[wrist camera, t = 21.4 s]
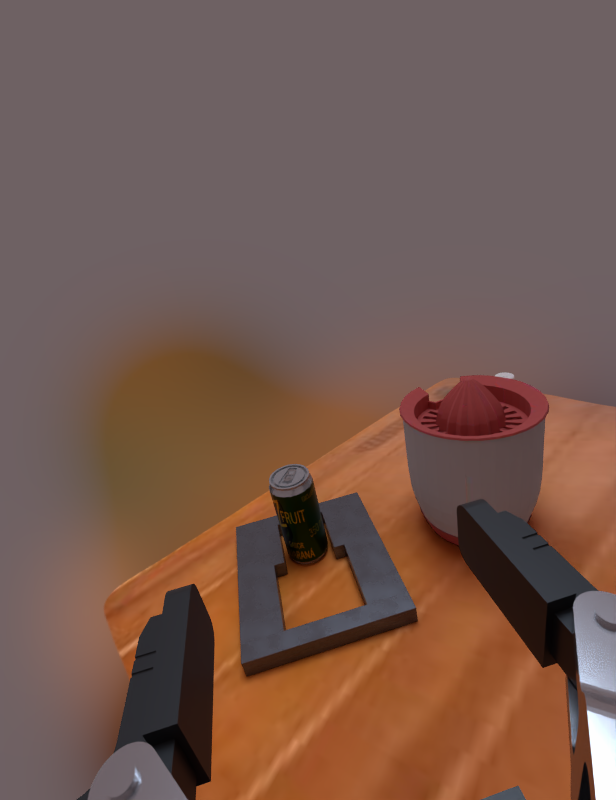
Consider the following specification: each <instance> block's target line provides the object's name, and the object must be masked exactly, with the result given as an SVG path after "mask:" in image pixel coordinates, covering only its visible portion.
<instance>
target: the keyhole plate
mask: <svg viewBox="0 0 616 800" xmlns="http://www.w3.org/2000/svg"><path fill="white" fill-rule="evenodd" d="M318 504H319V508H320V512H321V516H322V520H323V523H325V526H326V529H327V532H328V535H329V538H330V541H331V544H332V547H333V549H334V552H335V555H336V558H337V559H339V558H342V557H345V556H347V558H348V561H349V564H350V566H351V569H352V572H353V574H354V577H355V580H356V582H357V585H358V588H359V590H360V593H361V595H362V598H363V601H364V603H365V606H361V607H358V608H355V609H352V610H349V611H346V612H342V613H339V614H336V615H333V616H330V617H327V618H324V619H320V620H317V621H314V622H311V623H308V624H305V625H301V626H298V627H295V628H292V629H289V630H286V628H285V621H284V615H283V608H282V602H281V595H280V589H279V582H278V577H279V576H283V575H286V574H288V572H287V567H286V561H285V556H284V551H283V545H282V540H281V536H282V535H283V534H282V530H281V527H280V524H279V520H278V517H277V516H273V517H270V518H267V519H263V520H260V521H256V522H253V523H249V524H246V525H242V526H239V527H236V535H237V561H238V588H239V614H240V641H241V664H242V667H243V669H244V671H245V674H246V676H250V675H253V674H256V673H259V672H262V671H266V670H269V669H272V668H275V667H278V666H281V665H284V664H287V663H290V662H293V661H296V660H299V659H302V658H306V657H309V656H312V655H315V654H318V653H321V652H324V651H327V650H330V649H333V648H336V647H339V646H342V645H345V644H349V643H352V642H355V641H358V640H361V639H364V638H367V637H370V636H373V635H376V634H379V633H382V632H385V631H389V630H392V629H395V628H398V627H401V626H404V625H407V624H410V623H413V622H416V621H418V620H417V612H416V607H415V605H414V603H413V601H412V599H411V597H410V595H409V593H408V591H407V589H406V587H405V585H404V583H403V581H402V579H401V577H400V575H399V574H398V572H397V570H396V568H395V566H394V564H393V562H392V560H391V558H390V556H389V554H388V552H387V550H386V548H385V546H384V544H383V542H382V540H381V538H380V536H379V534H378V532H377V531H376V529H375V527H374V525H373V523H372V521H371V519H370V517H369V515H368V513H367V511H366V509H365V507H364V505H363V503H362V501H361V499H360V497H359V495H358V493H353V494H350V495H346V496H343V497H339V498H336V499H332V500H329V501H325V502H322V503H318Z"/></svg>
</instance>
